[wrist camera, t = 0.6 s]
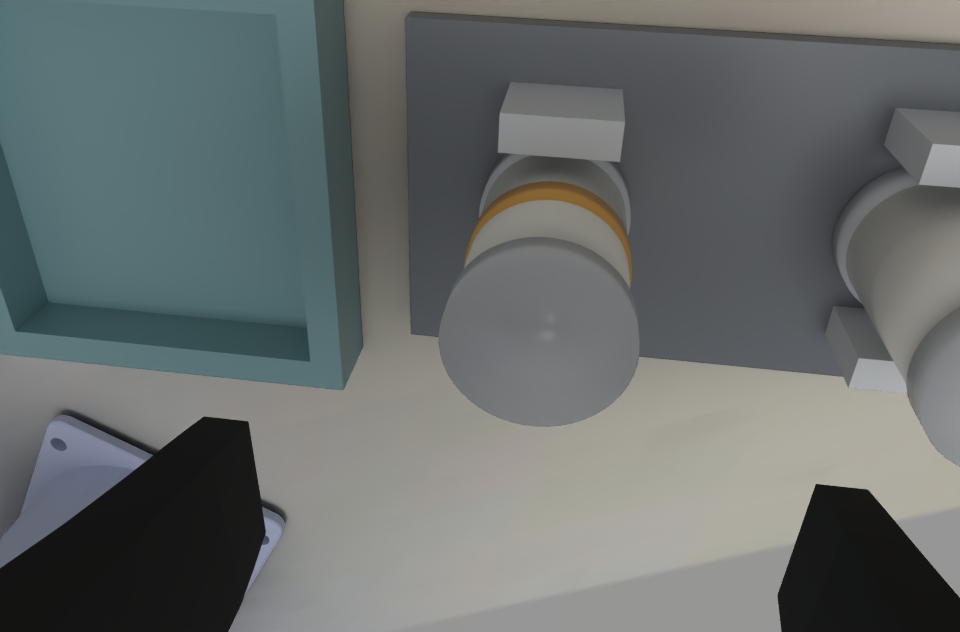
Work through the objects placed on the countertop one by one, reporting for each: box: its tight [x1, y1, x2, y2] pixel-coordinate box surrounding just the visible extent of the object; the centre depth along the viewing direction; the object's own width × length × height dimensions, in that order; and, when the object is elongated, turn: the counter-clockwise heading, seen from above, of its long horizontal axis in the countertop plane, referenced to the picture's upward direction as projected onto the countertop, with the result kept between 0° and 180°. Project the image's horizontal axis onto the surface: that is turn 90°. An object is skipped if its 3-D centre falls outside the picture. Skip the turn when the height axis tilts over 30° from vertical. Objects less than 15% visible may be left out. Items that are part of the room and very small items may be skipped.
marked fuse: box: [439, 153, 639, 427], centre depth 16 cm, size 3×3×6 cm
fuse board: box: [405, 12, 960, 394], centre depth 17 cm, size 15×8×3 cm, turn 89°
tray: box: [0, 0, 363, 390], centre depth 19 cm, size 10×10×2 cm
